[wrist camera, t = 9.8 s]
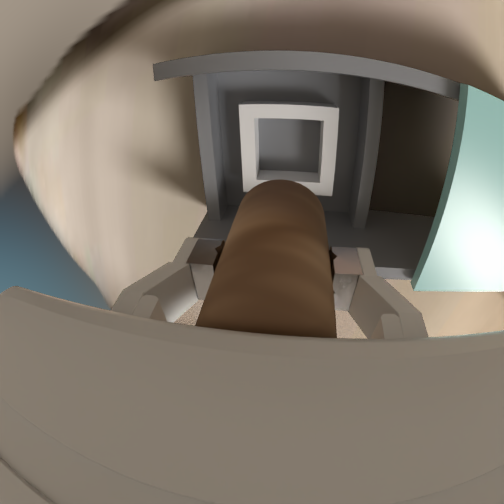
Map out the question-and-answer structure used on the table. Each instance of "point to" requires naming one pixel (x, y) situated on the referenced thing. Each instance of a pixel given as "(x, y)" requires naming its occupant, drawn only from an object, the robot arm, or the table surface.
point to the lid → (469, 204)
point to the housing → (303, 140)
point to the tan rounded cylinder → (274, 267)
